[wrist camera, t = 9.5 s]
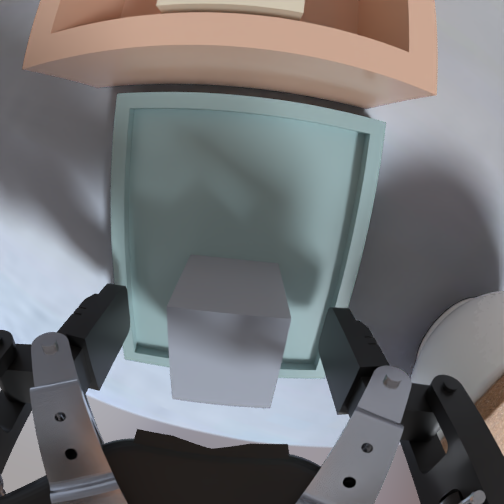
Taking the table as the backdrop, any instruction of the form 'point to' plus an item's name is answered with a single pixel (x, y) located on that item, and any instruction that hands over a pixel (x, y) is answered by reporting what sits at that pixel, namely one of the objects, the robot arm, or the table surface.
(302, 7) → the cream matte cube
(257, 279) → the slate gray cube
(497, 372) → the lidded jar
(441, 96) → the table surface
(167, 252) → the parts tray
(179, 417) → the table surface
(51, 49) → the salmon storage bin
